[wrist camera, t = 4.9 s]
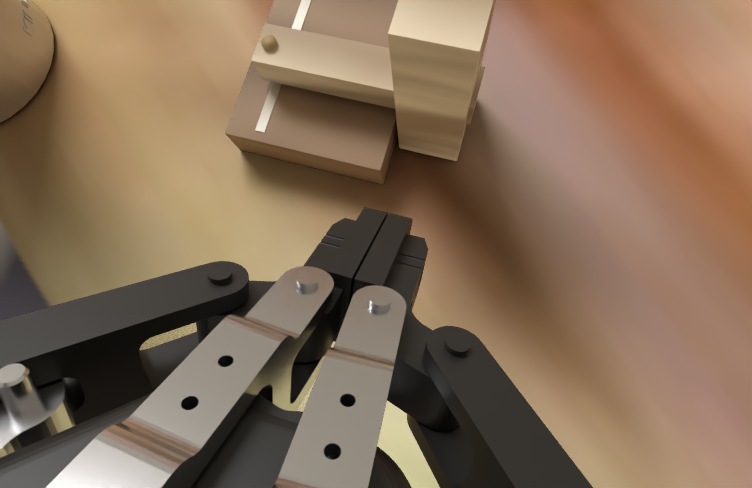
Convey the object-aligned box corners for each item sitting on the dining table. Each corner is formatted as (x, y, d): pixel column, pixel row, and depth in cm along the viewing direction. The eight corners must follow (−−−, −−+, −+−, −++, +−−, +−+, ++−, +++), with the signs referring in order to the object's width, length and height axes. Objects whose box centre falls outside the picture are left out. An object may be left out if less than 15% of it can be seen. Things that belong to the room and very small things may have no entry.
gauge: (460, 162, 23) (485, 52, 15) (269, 118, 25) (187, -6, 16) (479, 91, 24) (514, -54, 15) (292, 52, 26) (226, -100, 17)
